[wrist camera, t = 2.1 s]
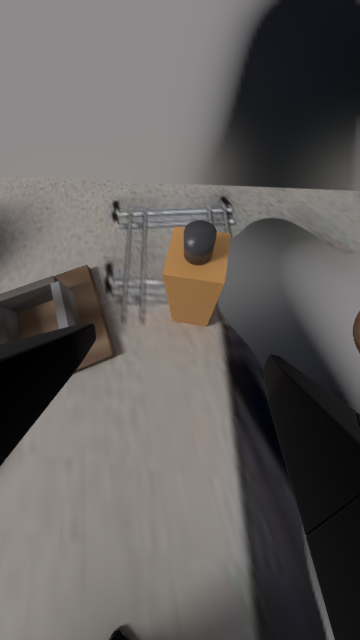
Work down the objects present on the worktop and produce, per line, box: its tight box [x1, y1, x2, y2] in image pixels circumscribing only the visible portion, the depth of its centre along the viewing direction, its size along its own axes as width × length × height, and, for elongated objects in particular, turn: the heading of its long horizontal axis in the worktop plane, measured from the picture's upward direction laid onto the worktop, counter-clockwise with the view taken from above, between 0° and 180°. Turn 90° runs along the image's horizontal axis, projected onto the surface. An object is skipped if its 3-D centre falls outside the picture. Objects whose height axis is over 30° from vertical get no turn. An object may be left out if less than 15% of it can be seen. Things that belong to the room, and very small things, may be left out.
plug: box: [163, 220, 231, 327], centre depth 18 cm, size 5×5×13 cm
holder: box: [0, 265, 115, 373], centre depth 22 cm, size 14×14×4 cm
